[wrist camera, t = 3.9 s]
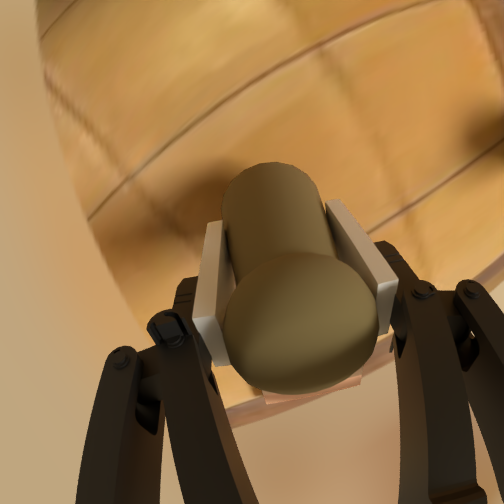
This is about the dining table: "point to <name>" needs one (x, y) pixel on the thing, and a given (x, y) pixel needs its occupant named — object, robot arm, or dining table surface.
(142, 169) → the dining table surface
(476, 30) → the dining table surface
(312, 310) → the olive rounded upright piece
